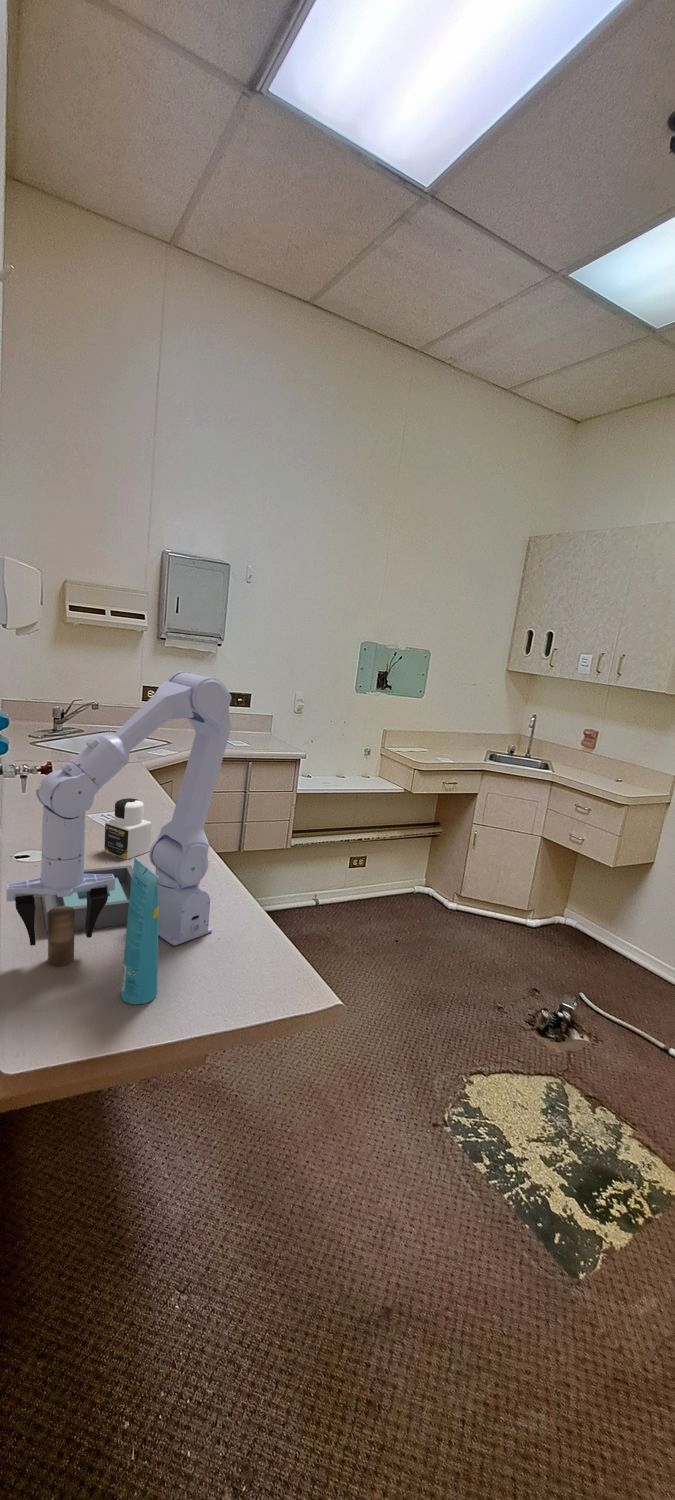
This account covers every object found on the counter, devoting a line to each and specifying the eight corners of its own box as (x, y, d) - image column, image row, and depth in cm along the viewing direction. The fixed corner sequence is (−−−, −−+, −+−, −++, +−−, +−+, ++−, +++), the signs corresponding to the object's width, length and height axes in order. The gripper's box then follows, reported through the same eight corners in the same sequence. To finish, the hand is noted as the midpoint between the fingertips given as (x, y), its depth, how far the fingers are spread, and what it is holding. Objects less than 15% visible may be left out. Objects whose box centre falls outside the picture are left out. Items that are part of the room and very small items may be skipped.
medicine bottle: (103, 851, 134) (105, 800, 131) (128, 843, 140) (130, 794, 138) (126, 860, 131) (128, 807, 128) (150, 851, 137) (153, 801, 135)
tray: (147, 921, 106) (148, 900, 105) (46, 935, 98) (46, 912, 97) (130, 884, 119) (131, 865, 118) (40, 893, 111) (40, 873, 110)
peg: (78, 960, 91) (79, 912, 90) (54, 969, 89) (55, 919, 87) (66, 951, 94) (67, 903, 92) (43, 959, 91) (43, 910, 89)
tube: (167, 1001, 84) (175, 872, 81) (136, 1014, 81) (142, 881, 77) (141, 977, 89) (147, 855, 86) (109, 988, 86) (114, 862, 82)
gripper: (7, 868, 81) (6, 959, 83) (119, 858, 88) (116, 943, 91) (6, 849, 87) (5, 935, 89) (112, 842, 94) (108, 922, 97)
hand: (61, 938), depth 90 cm, fingers open, 7 cm apart
